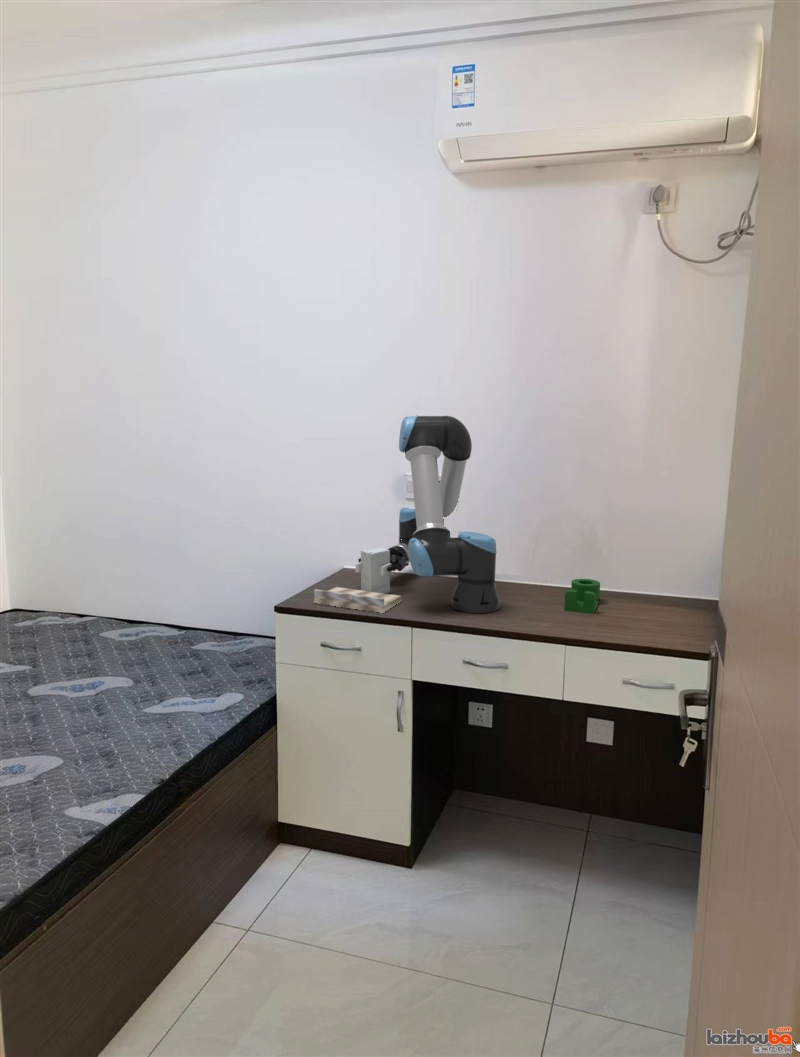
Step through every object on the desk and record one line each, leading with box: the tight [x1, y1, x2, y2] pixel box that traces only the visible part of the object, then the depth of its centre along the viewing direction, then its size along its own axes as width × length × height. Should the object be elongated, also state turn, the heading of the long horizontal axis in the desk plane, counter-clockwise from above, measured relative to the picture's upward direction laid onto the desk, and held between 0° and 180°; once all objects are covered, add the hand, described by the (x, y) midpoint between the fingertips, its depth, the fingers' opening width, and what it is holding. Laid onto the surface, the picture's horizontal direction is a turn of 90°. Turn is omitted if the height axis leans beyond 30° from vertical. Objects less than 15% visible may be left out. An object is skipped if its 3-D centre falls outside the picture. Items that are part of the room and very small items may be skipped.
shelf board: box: [313, 586, 403, 614], centre depth 242 cm, size 24×14×4 cm, turn 66°
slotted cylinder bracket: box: [563, 578, 601, 615], centre depth 243 cm, size 18×9×6 cm, turn 159°
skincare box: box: [360, 546, 391, 594], centre depth 252 cm, size 8×6×15 cm
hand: (369, 569), depth 248 cm, fingers closed on skincare box, 8 cm apart
